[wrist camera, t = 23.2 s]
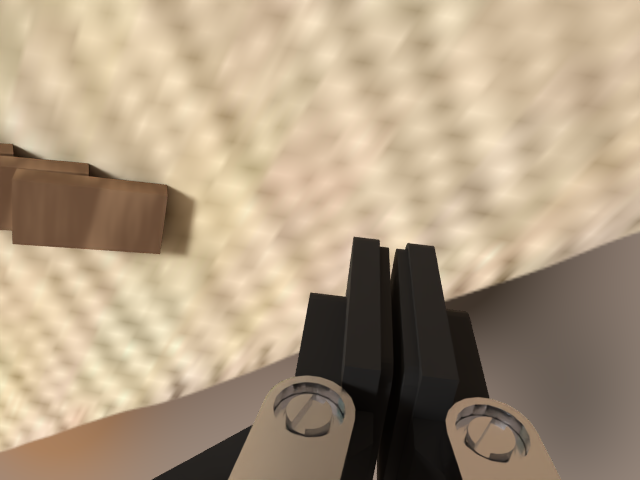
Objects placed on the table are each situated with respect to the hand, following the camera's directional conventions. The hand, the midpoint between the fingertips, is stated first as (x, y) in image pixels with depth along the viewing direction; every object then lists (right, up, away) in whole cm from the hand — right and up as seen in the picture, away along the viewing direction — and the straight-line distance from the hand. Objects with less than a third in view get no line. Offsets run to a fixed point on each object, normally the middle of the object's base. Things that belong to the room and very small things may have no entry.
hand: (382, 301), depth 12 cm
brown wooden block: (-13, +3, +30) cm, 33 cm away
